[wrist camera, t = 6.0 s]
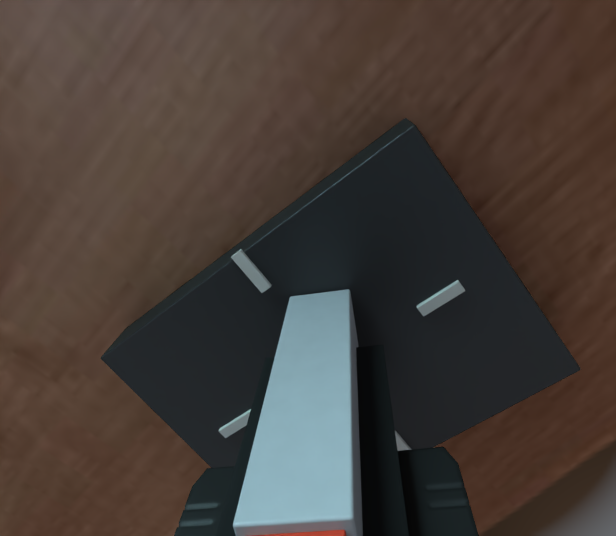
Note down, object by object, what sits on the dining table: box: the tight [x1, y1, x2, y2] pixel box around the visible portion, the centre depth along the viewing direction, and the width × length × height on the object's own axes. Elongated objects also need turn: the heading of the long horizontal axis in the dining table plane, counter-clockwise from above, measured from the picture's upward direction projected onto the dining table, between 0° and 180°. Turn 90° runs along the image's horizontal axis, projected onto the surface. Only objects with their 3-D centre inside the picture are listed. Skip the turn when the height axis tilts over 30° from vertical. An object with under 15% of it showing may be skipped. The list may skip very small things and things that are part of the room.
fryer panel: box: [101, 118, 580, 468], centre depth 16 cm, size 12×9×2 cm
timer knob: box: [233, 289, 363, 536], centre depth 12 cm, size 5×2×8 cm, turn 10°
